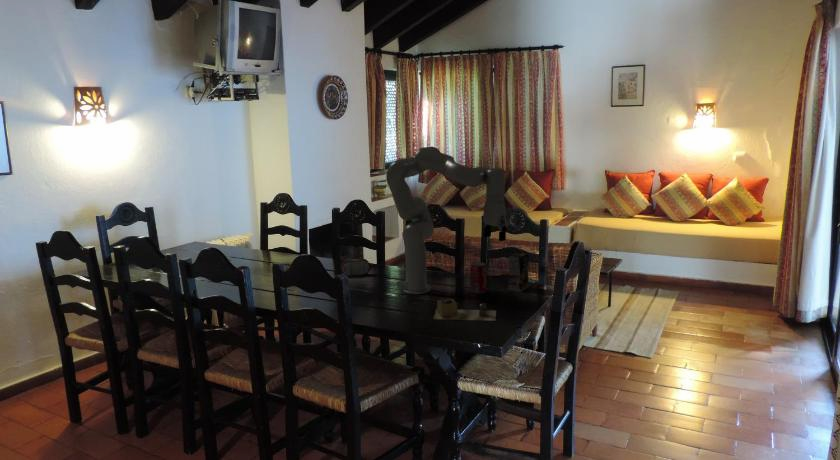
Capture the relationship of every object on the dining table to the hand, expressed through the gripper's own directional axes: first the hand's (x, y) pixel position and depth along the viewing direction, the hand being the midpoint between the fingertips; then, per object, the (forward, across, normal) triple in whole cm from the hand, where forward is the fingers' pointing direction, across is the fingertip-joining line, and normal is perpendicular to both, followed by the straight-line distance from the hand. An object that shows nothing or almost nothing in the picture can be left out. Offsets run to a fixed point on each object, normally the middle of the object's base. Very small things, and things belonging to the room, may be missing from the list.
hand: (494, 238), depth 252 cm
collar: (+26, +6, -28) cm, 39 cm away
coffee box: (+27, -7, +20) cm, 35 cm away
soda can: (+27, -14, +2) cm, 31 cm away
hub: (+26, +15, -18) cm, 35 cm away
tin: (+28, -72, -31) cm, 83 cm away
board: (+27, +10, -23) cm, 37 cm away
